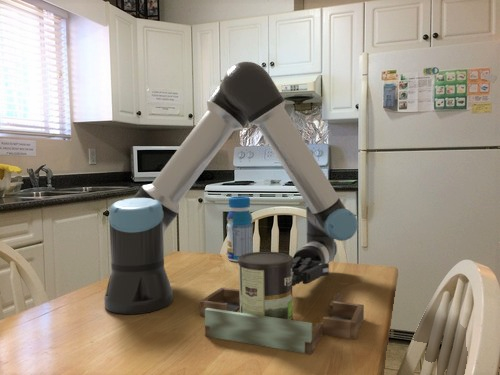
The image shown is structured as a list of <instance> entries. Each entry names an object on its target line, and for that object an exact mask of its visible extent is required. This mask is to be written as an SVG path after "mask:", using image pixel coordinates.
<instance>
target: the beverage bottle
mask: <svg viewBox="0 0 500 375" xmlns="http://www.w3.org/2000/svg"><path fill="white" fill-rule="evenodd" d="M250 206H251V198H250V196H230V197H229V198H228V208H229V209H230V210H229V212H228V214H227V217H226V221H227V224H226V234H227V237H226V238H227V259H228V260H229V261H231V262H236V263H239V262H238V257H239V256H241V255H244V254H247V253H253V252H254V251H253V248H254V247H253V240H254V239H253V237H254V236H253V230H254V229H253V228H254V224H253V223H252V221H253V216H252V214H251V212H250V210H249V208H250Z"/></svg>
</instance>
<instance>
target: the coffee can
mask: <svg viewBox="0 0 500 375" xmlns="http://www.w3.org/2000/svg"><path fill="white" fill-rule="evenodd" d="M292 262H293V256H292V255H290V254H288V253H285V252H284V253H283V252H279V251H278V252H277V251H256V252H255V251H253V253H247V254H244V255H241V256H239V257H238V262H237V263H238V283H239V284H238V286H239V289H238V290H239V292H240V308H239V313H246V314H253V315H260V316H267V317H274V318H281V319H288V320H294V318H293V314H294V313H293V286H292Z"/></svg>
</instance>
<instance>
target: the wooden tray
mask: <svg viewBox="0 0 500 375" xmlns="http://www.w3.org/2000/svg"><path fill="white" fill-rule="evenodd" d="M364 308H365V305H364V304H359V303H353V302H352V303H351V302H344V301H343V302H342V293H336V294H335V295H334V296H333V299H332V300H331V302H330V303H329V305H328V315H330V316H331V317H330V316H323V317H322V323H321V322H319V323H318V322H316V324H315V325H314V327H313V322H308V321H307V322H306V321H301V320H294V319H293V320H288V319H281V318H274V317H267V316H260V315H253V314H246V313H240V311H238V310H240V292H239V289H235V288H229V287H228V288H227V287H220V288H218V289H217V290H215V291H214V292H212V293H210V294H209V295H208V296H205V297H204V298H203V299H201V300H200V301H199V316H202V317H204V334H205V335H204V336H205V337H208V338H214V339H220V340H227V341H231V342H238V343H243V344H250V345H253V346H254V345H255V346H261V347H266V348H272V349H278V350H284V351H288V352H289V351H290V352H295V353H299V354H300V353H301V354H306V355H312V353H313V351H314V350H315V347H316V346H317V344H318V343H319V341H320V340H321V338H322V337H323V335H324V336H331V337H338V338H345V339H352V340H356V339H357V337H358V334H359V333H360V329H361V328H362V324H363V322H364V320H365V316H364V312H365V309H364Z"/></svg>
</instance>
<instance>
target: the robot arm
mask: <svg viewBox="0 0 500 375" xmlns="http://www.w3.org/2000/svg"><path fill="white" fill-rule="evenodd" d="M206 105H207V111H206V112H205V113H204V114H203V116H202V117H201V118H200V120H199V121H197V123H196V125H195V126H194V127H193V129H192V130H191V131H190V133H189V134H188V135H187V136H186V138H185V140H184V141H183V142H182V143H181V144H180V145H179V147H178V149H177V150H176V151H175V152H174V154H172V156H171V158H170V159H169V160H168V161H167V163H166V164H165V165H164V167H163V168H162V169H161V170H160V172H159V173H158V175H157V176H156V177H155V179H154V180H153V181H152V183H149V184H143V185H142V186H141V187H140V189H138V191H137V192H136V193H135V195H134V196H133V197H132V198H131V197H130V198H125V199H122V200H118V201H115V202H113V203H112V204H111V206H110V208H109V214H108V218H107V219H108V223H109V240H110V264H111V271H110V277H109V279H108V282H107V287H106V290H105V293H104V297H103V298H104V308H105V309H106V310H107V311H108V312H111V313H114V314H119V315H120V314H121V315H123V314H124V315H134V314H135V315H136V314H137V315H139V314H143V313H144V314H146V313H150V312H154V311H158V310H161V309H163V308H166V307H168V306H169V305H171V304H172V302H173V301H174V300H173V299H174V295H173V294H174V293H173V292H174V291H173V287H172V286H171V283H170V282H171V281H170V279H169V276H168V274H167V271H166V268H165V254H164V252H165V249H164V248H165V247H164V245H165V244H164V233H165V232H166V230H168V228H169V226H170V225H171V223H173V222H174V220H175V218H176V217H177V216H178V215H179V214H180V206H179V204H180V202H181V201H182V200H183V198H184V197H185V196H186V195H187V193H189V190H190V189H191V188H192V187H193V185H194V184H195V183H196V181H197V180H198V178H199V177H200V175H202V173H203V172H204V171H205V169H206V168H207V167H208V166H209V164H210V163H211V161H212V160H213V159H214V158H215V156H216V155H217V153H218V152H219V151H220V150H221V148H222V147H223V145H224V144H225V143H226V142H227V140H228V139H229V138H230V136H232V133H233V132H235V131H241V130H243V129H244V128H245V126H246V125H247V123H248V122H249V124H250V125H251V126H252V125H253V126H256V127H257V128H258V130H259V132H260V133H261V135H262V136H263V138H264V139H265V141H266V143H267V144H268V146H269V148H270V149H271V150H272V152H273V154H274V155H275V157H276V159H277V160H278V161H279V163H280V164H281V166H282V167H283V169H284V171H285V173H286V174H287V176H288V177H289V179H290V180H291V182H292V184H293V185H294V187H295V188H296V190H297V191H298V193H299V195H300V196H301V197H302V199H303V201H304V202H305V204H306V206H305V213H306V214H305V216H306V244H305V245H303V246H302V247H301V248H299V249H298V250H297V251H295V253H294V255H293V256H292V257H293V262H292V287H294V286H296V285H298V284H300V283H301V282H302V284H303V285H307V284H310V283H312V282H314V281H316V280H318V279H320V278H322V277H325V276H329V274H330V264H329V263H330V262H332V261H334V259H335V256H336V255H337V252H338V244H337V242H336V241H339V242H340V241H341V242H342V241H343V242H344V241H347V240H349V239H352V238H353V237H354V235H355V234H356V233H357V231H358V226H359V223H358V218H357V216H356V215H355V214H354V213H353V212H352V211H351V210H349V209H347V208H346V206H345V205H344V203H343V201H342V200H341V198H340V197H339V195H338V194H337V192H336V190H335V189H334V187H333V186H332V184H331V182H330V180H329V179H328V178H327V176H326V174H325V173H324V171H323V169H322V168H321V166H320V164H319V162H318V161H317V160H316V158H315V155H313V153H312V151H311V150H310V147H308V144H307V143H306V142H305V140H304V139H303V137H302V135H301V133H300V132H299V130H298V128H297V126H296V125H295V123H294V122H293V120H292V119H291V117H290V115H289V114H288V112H287V110H286V109H285V105H286V101H285V98H284V97H283V96H282V93H281V92H280V91H279V89H278V87H277V86H276V84H275V82H274V80H273V79H272V77H271V76H270V75H269V72H267V71H266V69H265V68H264V67H263V66H261V65H260V64H258V63H255V62H252V61H241V62H238V63H235V64H234V65H232V66H231V67H230V68H229V69H228V70H227V72H226V73H225V75H224V76H223V79H222V81H221V82H220V83H219V84H218V86H217V87H216V89H215V90H213V92H212V94H211V95H210V97H209V98H208V99H207V100H206ZM335 240H336V241H335Z"/></svg>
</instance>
